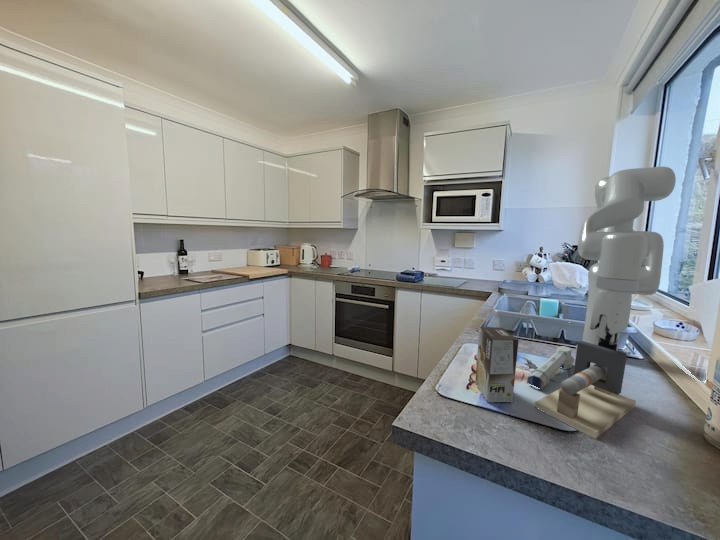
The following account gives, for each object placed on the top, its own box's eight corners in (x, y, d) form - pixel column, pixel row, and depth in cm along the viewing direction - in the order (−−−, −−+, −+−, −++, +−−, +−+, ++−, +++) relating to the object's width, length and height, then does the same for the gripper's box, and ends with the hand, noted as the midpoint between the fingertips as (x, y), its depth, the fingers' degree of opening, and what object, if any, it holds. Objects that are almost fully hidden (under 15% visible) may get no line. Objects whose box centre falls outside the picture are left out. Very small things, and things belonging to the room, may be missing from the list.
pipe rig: (577, 383, 81) (582, 350, 80) (635, 406, 71) (641, 369, 70) (534, 407, 70) (539, 369, 68) (595, 439, 59) (602, 394, 58)
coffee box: (513, 403, 71) (520, 340, 69) (486, 402, 71) (492, 339, 69) (497, 384, 80) (502, 327, 78) (473, 383, 80) (478, 326, 78)
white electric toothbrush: (524, 372, 79) (558, 339, 94) (523, 393, 81) (556, 358, 96) (546, 379, 75) (577, 344, 90) (544, 402, 77) (575, 364, 92)
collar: (576, 375, 76) (581, 340, 75) (620, 392, 69) (627, 353, 67) (573, 377, 75) (577, 342, 74) (617, 394, 68) (623, 355, 66)
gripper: (609, 280, 77) (599, 347, 80) (583, 284, 69) (574, 358, 72) (648, 285, 71) (636, 357, 74) (624, 290, 63) (612, 371, 66)
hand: (605, 358), depth 73 cm, fingers closed
